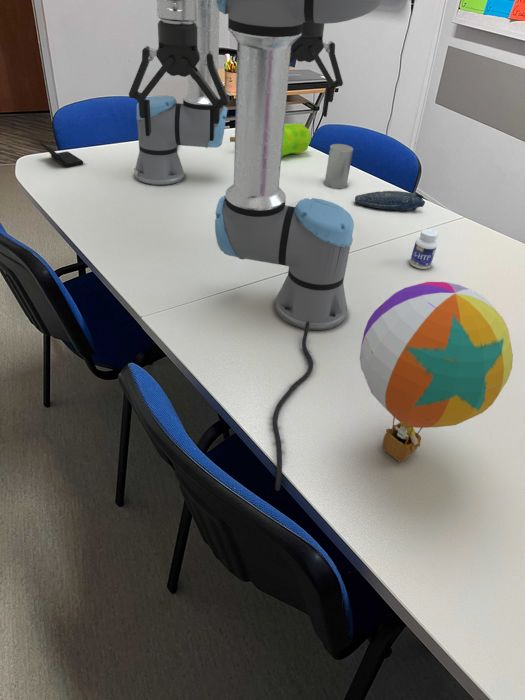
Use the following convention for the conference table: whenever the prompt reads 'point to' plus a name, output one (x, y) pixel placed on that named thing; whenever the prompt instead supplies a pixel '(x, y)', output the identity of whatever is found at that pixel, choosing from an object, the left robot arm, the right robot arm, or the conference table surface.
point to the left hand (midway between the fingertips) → (180, 136)
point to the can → (338, 166)
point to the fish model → (391, 200)
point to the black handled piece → (64, 157)
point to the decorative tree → (293, 139)
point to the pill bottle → (424, 249)
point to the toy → (434, 359)
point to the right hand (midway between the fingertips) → (298, 113)
